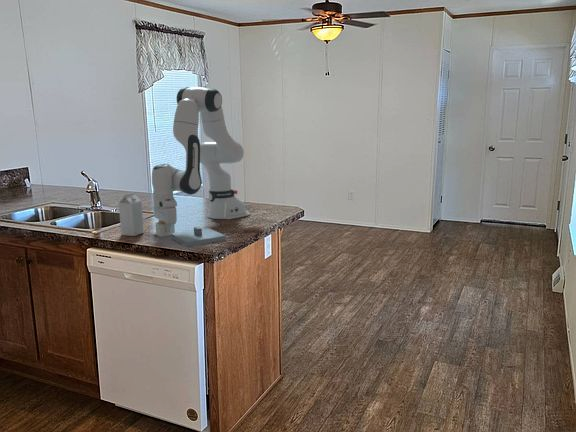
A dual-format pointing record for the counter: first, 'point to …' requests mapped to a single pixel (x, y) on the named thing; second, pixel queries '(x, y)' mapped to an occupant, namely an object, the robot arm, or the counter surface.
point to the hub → (198, 236)
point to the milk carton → (131, 215)
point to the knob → (163, 229)
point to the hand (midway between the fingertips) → (165, 230)
